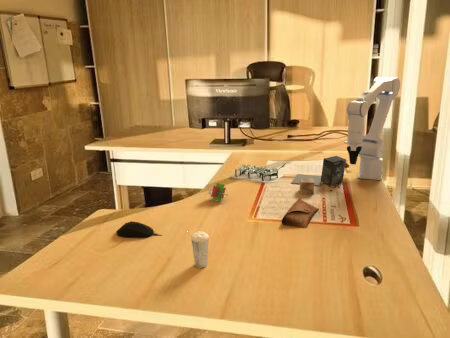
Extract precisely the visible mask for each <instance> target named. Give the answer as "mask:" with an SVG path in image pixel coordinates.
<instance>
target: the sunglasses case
mask: <svg viewBox="0 0 450 338" xmlns="http://www.w3.org/2000/svg"><path fill="white" fill-rule="evenodd" d="M318 211H319V208H318V207H316V206H314V205H312V204H310V203H308V202H306V201H304V200H302V198H300V197H299V198H298V199H296V201H295V202H294V203H293V204H292V205H291V207H290V208H288V210H287V212H286V213H285V214H284V216H283V217H282V219H281V224H282V225H283V226H289V227H294V228H301V229H307V228H308V225H309V223H310V221H311V220H312V218H313V217H314V216H315V214H316V213H317V212H318Z"/></svg>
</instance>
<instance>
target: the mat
mask: <svg viewBox="0 0 450 338" xmlns="http://www.w3.org/2000/svg"><path fill="white" fill-rule="evenodd" d="M300 178H307V179H313V180H314V187H321V185H322V184H323V182H321V175H315V174H314V175H312V174H302V173H297V174H295V176H294V178H293V179H292V181H291V182H290V184H294V185H300Z"/></svg>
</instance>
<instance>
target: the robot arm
mask: <svg viewBox="0 0 450 338" xmlns="http://www.w3.org/2000/svg"><path fill="white" fill-rule="evenodd" d="M400 89H401V80H400V78H399V77H397V76H396V77H392V76H391V77H384V76H383V77H382V76H381V77H380V76H376V77H375V78H374V79H373V81H372V85H371V87H370V88H369V89H368V90H364V91H363V92H362V93H361V94H360V95H359V96H358V97H357V98H356V99H355V100H351V101H350V102H348V103H347V107H346V113H347V120H348V128H347V140H344V142H343V144H346V145H347V147H346V151H347V153H348V158H349V164H350V165H356V164H357V161H358V157H360V161H359V169H358V173H357V179H362V180H374V181H375V180H376V181H377V180H378V181H381V180H382V175H383V164H384V163H383V162H384V159H383V157H382V156H383V154H384V151H385V145H386V144H385V140H384V139H383V138H382V137H381V136H382V132H383V129H384V126H385V123H386V121H387V119H388V118H387V117H388V114H389V113H390V112H389V111H390V108H391V106H392V103H393V101H394V100H396V99H397V97H398V94H399V92H400ZM376 99H377V100H378V101H379V102H378V104H377V107H376V110H375V113H374V117H373V119H372V121H371V125H370V128H369V130H368V133H366V134H364V127H365V126H364V125H365V116H367V114H368V111H369V110H370V107H371V105H373V104H374V102H375V101H376ZM363 135H364V136H363Z"/></svg>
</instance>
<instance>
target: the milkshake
mask: <svg viewBox="0 0 450 338" xmlns="http://www.w3.org/2000/svg"><path fill="white" fill-rule="evenodd" d="M187 233H188V235H189V237H190V239H191V247H192V254H193V261H194V262H193V263H194V266H195V267H196V268H198V269H203V268H206V267H207V266H208V262H209V239H210V237H209V234H208V233H207V232H205V231H200V230H198V231H196V232H194V233H193V234H192V235H191V234H190V232H189V231H187Z"/></svg>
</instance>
